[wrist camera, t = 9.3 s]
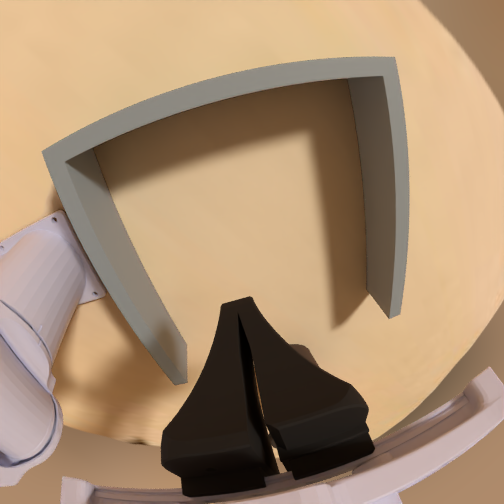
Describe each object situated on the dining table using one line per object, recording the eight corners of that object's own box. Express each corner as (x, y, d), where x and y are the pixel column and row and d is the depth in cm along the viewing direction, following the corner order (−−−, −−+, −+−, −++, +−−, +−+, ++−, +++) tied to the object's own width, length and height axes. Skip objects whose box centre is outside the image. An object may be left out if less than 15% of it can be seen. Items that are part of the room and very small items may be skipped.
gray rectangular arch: (175, 347, 26) (174, 385, 22) (73, 139, 15) (41, 151, 11) (376, 285, 26) (400, 314, 22) (357, 62, 16) (394, 57, 12)
